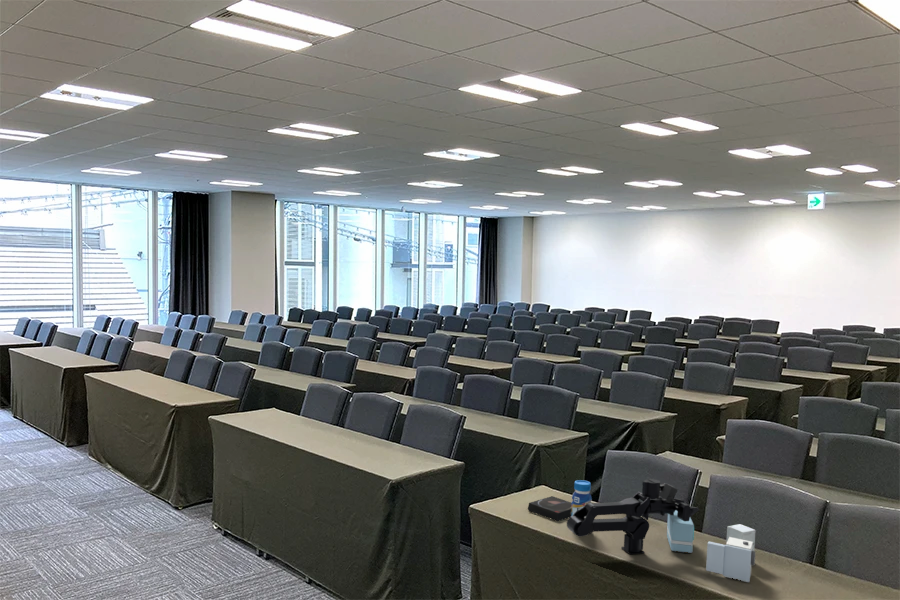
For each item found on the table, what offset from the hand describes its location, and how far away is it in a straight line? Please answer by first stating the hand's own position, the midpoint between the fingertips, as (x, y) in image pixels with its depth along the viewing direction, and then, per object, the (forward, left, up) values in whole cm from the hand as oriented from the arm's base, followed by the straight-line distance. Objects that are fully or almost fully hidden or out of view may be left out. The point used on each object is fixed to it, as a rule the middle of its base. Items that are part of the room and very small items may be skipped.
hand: (691, 505), depth 273 cm
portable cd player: (-35, +48, -17) cm, 62 cm away
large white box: (0, -27, -17) cm, 32 cm away
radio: (-3, +1, -17) cm, 17 cm away
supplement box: (+11, -16, -17) cm, 25 cm away
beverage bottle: (-34, +26, -17) cm, 46 cm away
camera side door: (-5, -28, -16) cm, 33 cm away
